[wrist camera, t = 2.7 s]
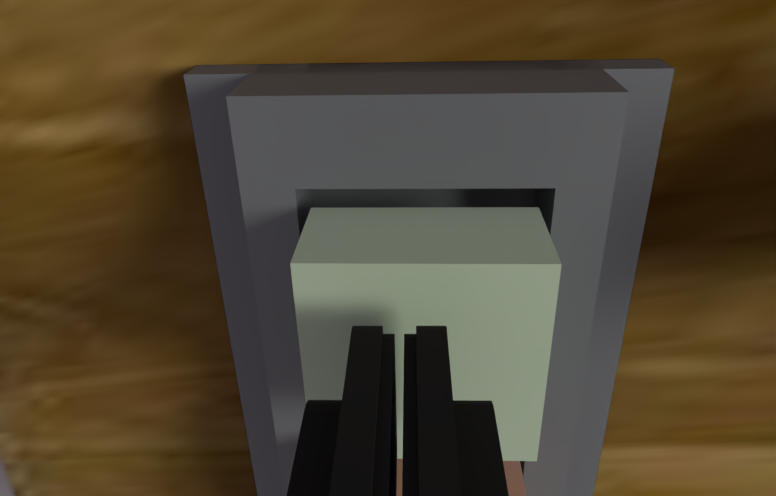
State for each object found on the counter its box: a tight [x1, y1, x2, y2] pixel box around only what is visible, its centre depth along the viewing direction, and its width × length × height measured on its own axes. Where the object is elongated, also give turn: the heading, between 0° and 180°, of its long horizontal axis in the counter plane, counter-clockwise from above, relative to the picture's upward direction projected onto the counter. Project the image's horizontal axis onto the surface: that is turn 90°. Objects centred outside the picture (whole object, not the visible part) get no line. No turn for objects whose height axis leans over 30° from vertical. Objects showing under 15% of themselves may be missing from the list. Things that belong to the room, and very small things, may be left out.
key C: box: [290, 207, 562, 461], centre depth 13 cm, size 5×5×2 cm
